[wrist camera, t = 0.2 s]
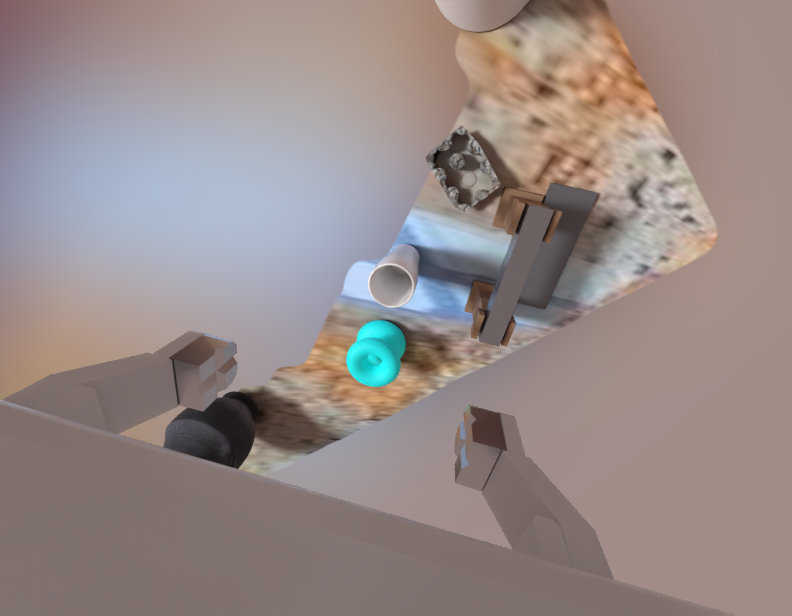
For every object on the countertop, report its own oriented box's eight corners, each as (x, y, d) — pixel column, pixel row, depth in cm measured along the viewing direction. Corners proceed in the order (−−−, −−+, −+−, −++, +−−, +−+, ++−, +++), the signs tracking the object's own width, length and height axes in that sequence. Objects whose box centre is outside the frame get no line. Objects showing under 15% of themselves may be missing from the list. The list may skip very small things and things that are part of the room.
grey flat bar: (550, 182, 49) (551, 182, 48) (596, 192, 48) (598, 193, 48) (506, 298, 57) (506, 299, 57) (544, 307, 57) (545, 309, 56)
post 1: (474, 279, 57) (479, 308, 46) (507, 287, 57) (520, 318, 45) (464, 309, 60) (467, 342, 48) (496, 317, 59) (506, 352, 48)
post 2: (504, 187, 50) (519, 193, 39) (542, 195, 50) (568, 204, 39) (492, 224, 53) (502, 240, 42) (528, 232, 52) (548, 251, 41)
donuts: (384, 398, 59) (336, 374, 58) (393, 367, 68) (351, 346, 67) (408, 359, 54) (357, 333, 54) (415, 332, 63) (370, 309, 63)
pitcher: (199, 377, 78) (66, 489, 51) (275, 378, 74) (175, 500, 47) (222, 431, 85) (115, 554, 58) (293, 434, 81) (214, 568, 54)
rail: (524, 202, 41) (529, 205, 39) (547, 207, 41) (554, 210, 39) (477, 331, 50) (479, 341, 47) (496, 336, 50) (499, 346, 47)
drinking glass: (431, 254, 56) (425, 283, 43) (408, 282, 59) (396, 317, 46) (401, 231, 56) (385, 252, 42) (379, 260, 58) (358, 289, 45)
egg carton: (500, 185, 50) (504, 187, 47) (459, 213, 53) (460, 216, 49) (465, 123, 48) (467, 120, 44) (424, 156, 50) (422, 155, 47)
